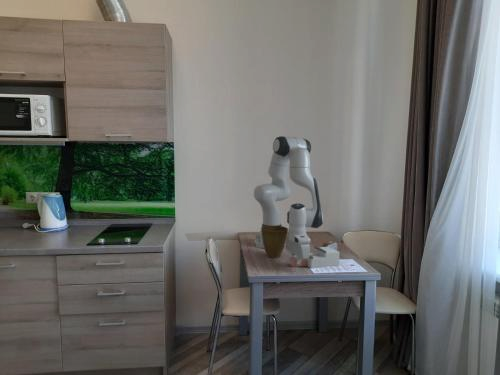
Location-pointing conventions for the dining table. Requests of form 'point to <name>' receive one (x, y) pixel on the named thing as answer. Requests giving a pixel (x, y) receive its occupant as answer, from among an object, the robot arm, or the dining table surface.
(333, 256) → the dispenser
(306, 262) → the brown block
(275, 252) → the plant pot
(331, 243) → the tin
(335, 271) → the dining table surface
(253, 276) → the dining table surface
